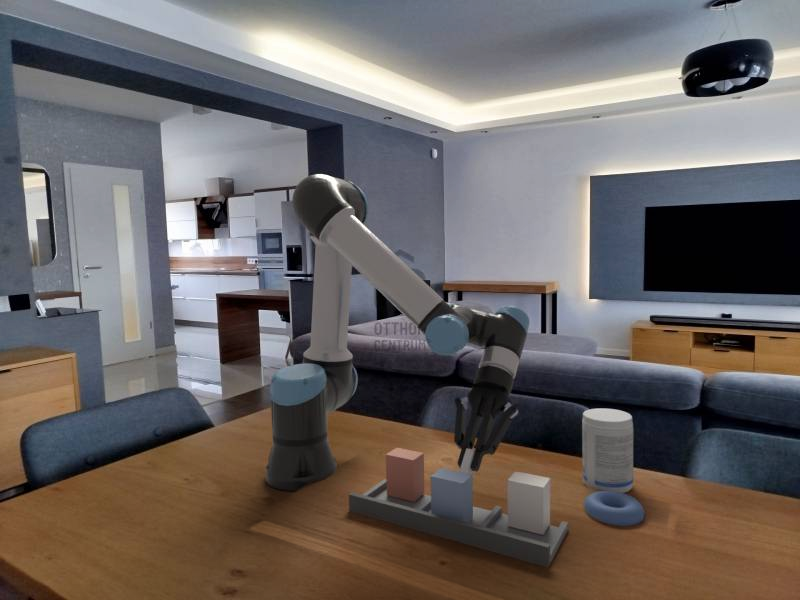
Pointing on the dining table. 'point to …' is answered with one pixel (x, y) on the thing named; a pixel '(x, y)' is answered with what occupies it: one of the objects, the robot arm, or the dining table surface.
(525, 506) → the white rectangular block
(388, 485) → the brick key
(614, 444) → the supplement tub
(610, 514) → the doughnut
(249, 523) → the dining table surface
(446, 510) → the blue rectangular block
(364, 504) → the grey divided tray
